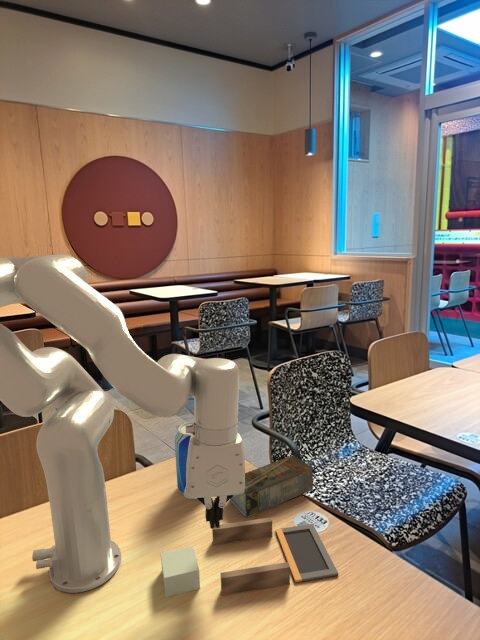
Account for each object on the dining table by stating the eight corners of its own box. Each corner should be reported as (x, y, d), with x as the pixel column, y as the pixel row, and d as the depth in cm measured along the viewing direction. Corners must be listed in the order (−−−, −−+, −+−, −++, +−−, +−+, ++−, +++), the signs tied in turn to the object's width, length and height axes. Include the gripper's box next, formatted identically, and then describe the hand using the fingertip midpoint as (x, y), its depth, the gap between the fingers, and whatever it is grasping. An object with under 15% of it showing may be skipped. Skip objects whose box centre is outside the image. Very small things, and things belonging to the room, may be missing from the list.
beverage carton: (227, 500, 100) (226, 474, 99) (294, 475, 110) (294, 451, 108) (245, 519, 94) (245, 492, 92) (314, 491, 103) (315, 466, 102)
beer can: (183, 504, 99) (179, 439, 96) (173, 484, 107) (169, 424, 103) (218, 494, 102) (215, 431, 99) (205, 476, 110) (203, 417, 106)
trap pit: (295, 583, 77) (295, 580, 76) (275, 531, 89) (275, 529, 89) (338, 575, 78) (338, 572, 78) (312, 526, 91) (312, 523, 91)
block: (165, 597, 74) (164, 577, 74) (162, 571, 80) (160, 553, 79) (200, 589, 76) (199, 569, 75) (194, 564, 82) (193, 545, 81)
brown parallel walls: (222, 595, 74) (221, 578, 74) (212, 541, 87) (212, 525, 86) (289, 584, 76) (289, 567, 76) (270, 532, 89) (270, 517, 89)
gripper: (172, 443, 70) (173, 542, 74) (263, 438, 73) (258, 533, 77) (171, 422, 77) (171, 513, 81) (253, 418, 80) (250, 506, 84)
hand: (214, 523), depth 79 cm, fingers closed
